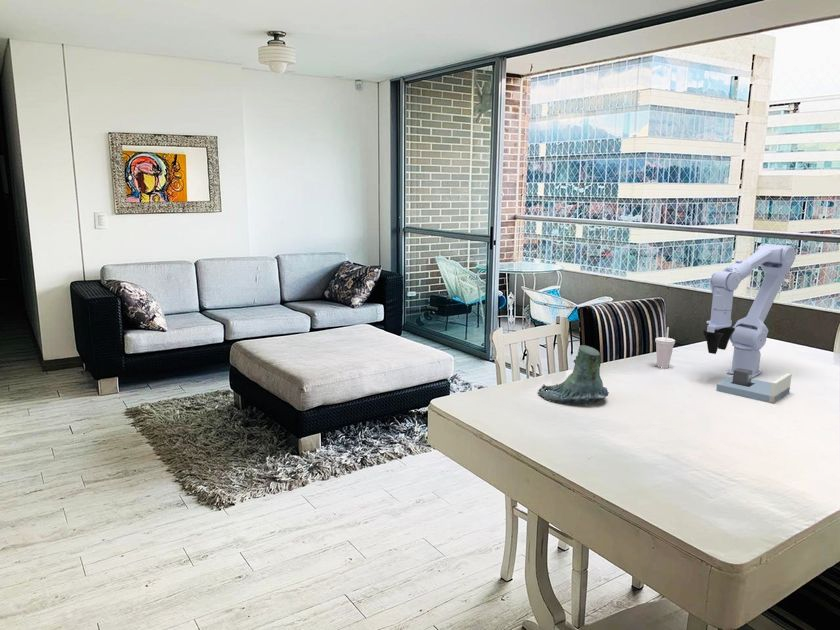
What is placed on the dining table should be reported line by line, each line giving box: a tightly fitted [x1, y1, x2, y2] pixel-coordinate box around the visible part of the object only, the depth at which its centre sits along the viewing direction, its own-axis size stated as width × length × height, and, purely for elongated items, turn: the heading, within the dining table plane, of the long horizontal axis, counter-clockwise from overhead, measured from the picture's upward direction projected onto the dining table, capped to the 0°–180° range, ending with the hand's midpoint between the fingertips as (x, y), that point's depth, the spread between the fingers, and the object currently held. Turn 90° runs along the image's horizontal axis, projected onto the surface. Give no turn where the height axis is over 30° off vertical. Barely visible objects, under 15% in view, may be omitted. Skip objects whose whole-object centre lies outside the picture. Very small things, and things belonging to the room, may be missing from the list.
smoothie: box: [654, 326, 676, 369], centre depth 217 cm, size 6×6×14 cm
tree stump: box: [537, 344, 610, 405], centre depth 185 cm, size 18×20×18 cm
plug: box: [732, 368, 753, 387], centre depth 195 cm, size 4×4×6 cm
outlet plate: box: [715, 372, 792, 404], centre depth 192 cm, size 14×16×6 cm
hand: (717, 351), depth 203 cm, fingers open, 7 cm apart
